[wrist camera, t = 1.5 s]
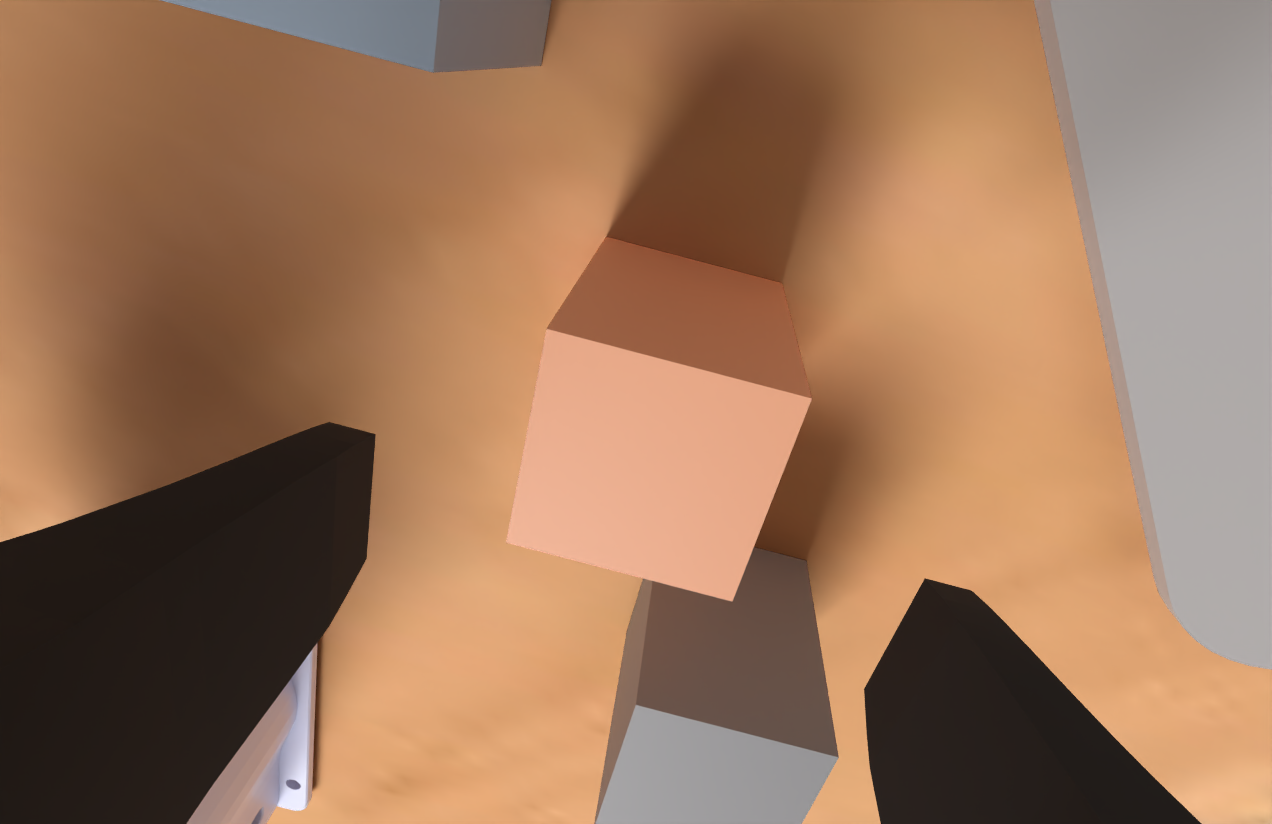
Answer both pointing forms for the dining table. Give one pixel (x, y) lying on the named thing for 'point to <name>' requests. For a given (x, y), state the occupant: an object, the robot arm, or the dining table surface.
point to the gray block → (721, 705)
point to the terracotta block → (660, 420)
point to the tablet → (1182, 281)
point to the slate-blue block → (406, 28)
